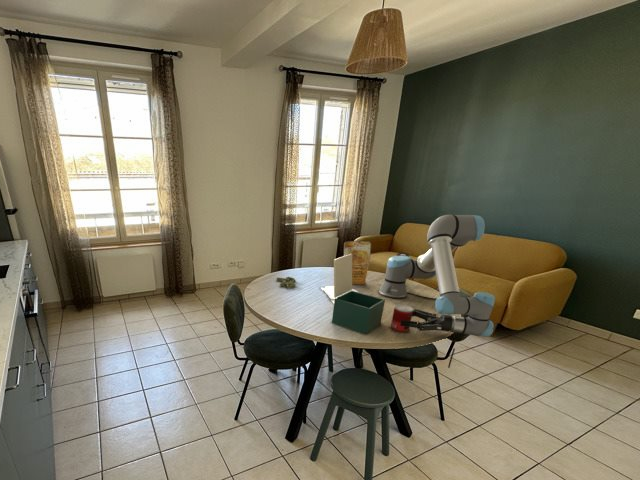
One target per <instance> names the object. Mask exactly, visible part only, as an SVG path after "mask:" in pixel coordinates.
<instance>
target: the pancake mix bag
mask: <svg viewBox="0 0 640 480" xmlns="http://www.w3.org/2000/svg"><path fill="white" fill-rule="evenodd" d="M371 250H372V242H370V241H368V240H367V241H366V240H365V241H364V240H362V241H358V240H350V241H349V240H348V241H345V242H344V243H343V256H346V255H349V254H352V285H364V284H366V283H367V281H366V280H367V276H368V271H369V266H370V260H371Z"/></svg>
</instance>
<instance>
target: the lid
mask: <svg viewBox="0 0 640 480" xmlns="http://www.w3.org/2000/svg"><path fill="white" fill-rule="evenodd" d="M333 286H334V298H336V297H338V296H340V295H342V294H344V293H346V292H348V291H350V290H352V289H353V284H352V254H349V255H346V256H344V255H342V256H340V257H338V258H334V259H333Z"/></svg>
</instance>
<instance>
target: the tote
mask: <svg viewBox="0 0 640 480" xmlns="http://www.w3.org/2000/svg"><path fill="white" fill-rule="evenodd" d="M385 303H386V299H385V298H381V297H377V296H374V295H370V294H366V293H362V292H359V291H357V292H355V291H349V292H347V293H345V294H343V295H341V296H339V297H337V298H335V301H334V304H333V308H332V309H333V310H332V316H331V317H332V319H331V323H332V324H335V325H337V326H341V327H344V328H347V329H349V330H351V331H355V332H357V333H360V334H364V335H367V334H368V333H370V332H371V331H372V330H374V329H376V328H377V327H378V326H380V325H381V323H382V319H383V314H384V309H385Z"/></svg>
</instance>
